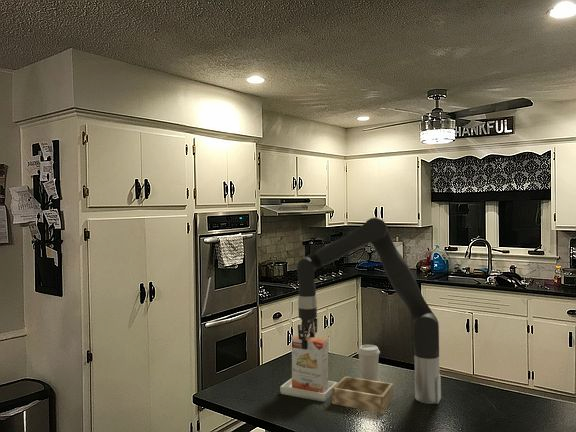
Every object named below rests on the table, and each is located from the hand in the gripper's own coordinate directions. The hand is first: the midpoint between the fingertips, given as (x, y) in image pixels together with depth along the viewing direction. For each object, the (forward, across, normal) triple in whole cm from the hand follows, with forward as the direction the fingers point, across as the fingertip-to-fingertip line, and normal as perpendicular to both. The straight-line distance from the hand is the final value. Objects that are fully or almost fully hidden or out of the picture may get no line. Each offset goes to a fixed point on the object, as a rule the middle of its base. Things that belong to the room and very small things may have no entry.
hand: (308, 346), depth 193 cm
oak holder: (+19, 0, -23) cm, 30 cm away
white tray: (+19, 0, 0) cm, 19 cm away
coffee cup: (+19, +20, -19) cm, 33 cm away
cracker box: (+18, 0, 0) cm, 18 cm away
